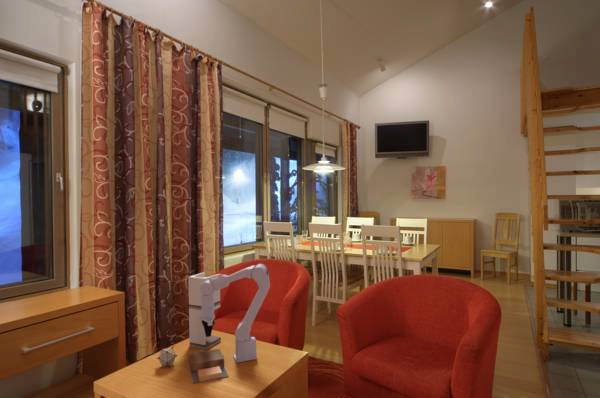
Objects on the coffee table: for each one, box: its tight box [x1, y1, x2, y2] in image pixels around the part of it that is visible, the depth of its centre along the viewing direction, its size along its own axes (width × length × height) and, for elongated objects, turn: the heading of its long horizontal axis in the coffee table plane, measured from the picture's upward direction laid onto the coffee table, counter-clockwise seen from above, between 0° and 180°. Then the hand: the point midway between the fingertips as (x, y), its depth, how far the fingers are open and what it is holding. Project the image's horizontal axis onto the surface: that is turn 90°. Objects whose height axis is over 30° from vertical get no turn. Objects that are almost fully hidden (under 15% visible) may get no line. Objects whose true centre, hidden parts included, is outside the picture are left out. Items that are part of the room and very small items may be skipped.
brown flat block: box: [188, 348, 225, 374], centre depth 164 cm, size 14×11×4 cm
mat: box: [190, 366, 229, 385], centre depth 155 cm, size 14×9×1 cm, turn 112°
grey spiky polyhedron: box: [156, 346, 178, 369], centre depth 164 cm, size 9×8×10 cm
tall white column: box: [187, 271, 222, 351], centre depth 188 cm, size 11×11×35 cm
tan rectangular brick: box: [198, 366, 222, 381], centre depth 154 cm, size 9×6×2 cm, turn 112°
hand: (208, 336), depth 171 cm, fingers closed
